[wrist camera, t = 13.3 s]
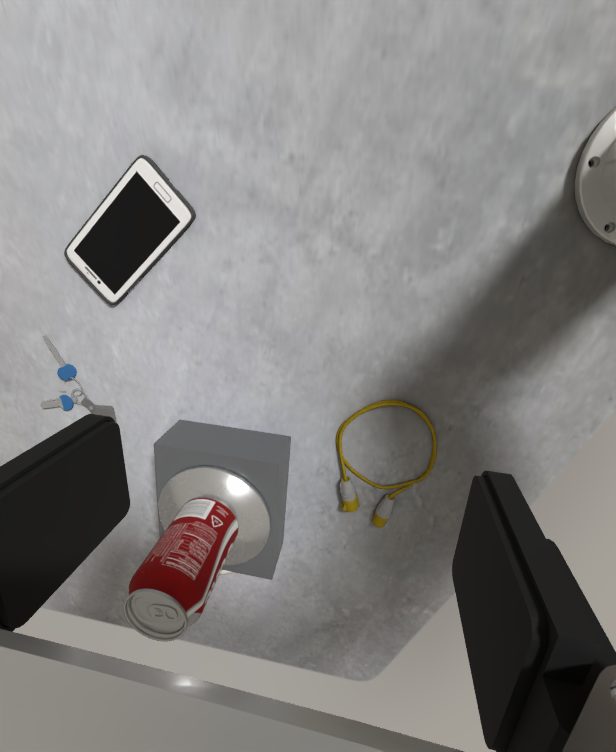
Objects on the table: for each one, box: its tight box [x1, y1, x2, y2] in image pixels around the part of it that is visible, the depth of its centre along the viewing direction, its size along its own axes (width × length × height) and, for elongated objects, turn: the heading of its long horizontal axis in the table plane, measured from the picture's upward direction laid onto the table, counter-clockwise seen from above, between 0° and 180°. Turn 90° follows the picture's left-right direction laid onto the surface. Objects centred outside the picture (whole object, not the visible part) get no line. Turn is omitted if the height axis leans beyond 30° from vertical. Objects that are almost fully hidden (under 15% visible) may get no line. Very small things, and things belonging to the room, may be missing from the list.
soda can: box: [124, 497, 239, 641], centre depth 37 cm, size 7×7×12 cm
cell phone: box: [64, 155, 196, 305], centre depth 40 cm, size 8×15×1 cm, turn 131°
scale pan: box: [158, 465, 271, 565], centre depth 43 cm, size 13×13×1 cm
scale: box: [154, 420, 291, 580], centre depth 46 cm, size 14×17×6 cm
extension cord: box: [336, 400, 437, 528], centre depth 44 cm, size 12×16×2 cm
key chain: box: [41, 336, 117, 423], centre depth 48 cm, size 14×8×1 cm, turn 38°
